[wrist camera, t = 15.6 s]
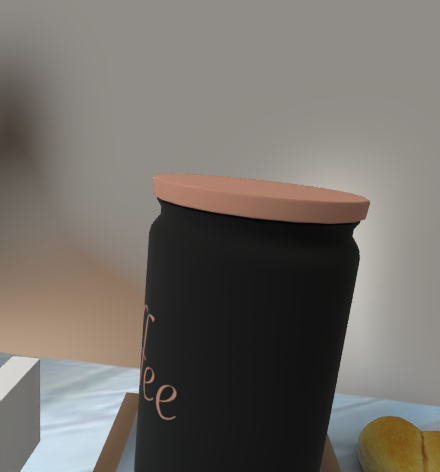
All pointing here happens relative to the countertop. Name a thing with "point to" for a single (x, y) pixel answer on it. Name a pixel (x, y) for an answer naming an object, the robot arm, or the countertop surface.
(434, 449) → the bread roll
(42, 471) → the countertop surface
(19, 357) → the robot arm
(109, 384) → the countertop surface
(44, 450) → the countertop surface
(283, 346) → the coffee jar
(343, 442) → the countertop surface
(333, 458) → the plinth
